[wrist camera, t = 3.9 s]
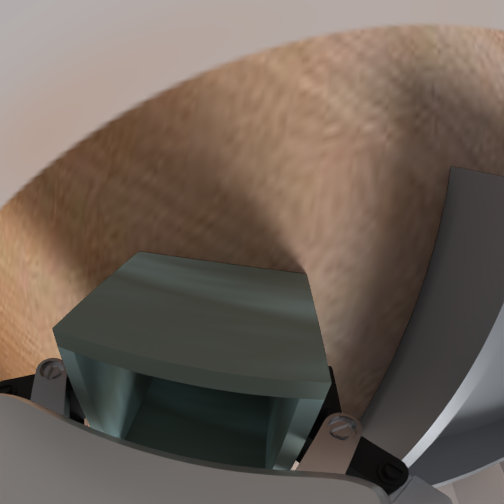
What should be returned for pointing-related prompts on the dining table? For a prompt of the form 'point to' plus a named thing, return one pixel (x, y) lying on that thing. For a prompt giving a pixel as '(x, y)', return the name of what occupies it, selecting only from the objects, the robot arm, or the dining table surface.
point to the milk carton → (478, 488)
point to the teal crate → (199, 359)
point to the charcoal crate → (451, 347)
